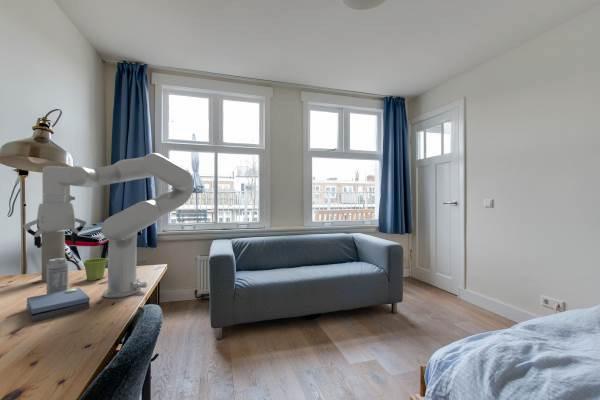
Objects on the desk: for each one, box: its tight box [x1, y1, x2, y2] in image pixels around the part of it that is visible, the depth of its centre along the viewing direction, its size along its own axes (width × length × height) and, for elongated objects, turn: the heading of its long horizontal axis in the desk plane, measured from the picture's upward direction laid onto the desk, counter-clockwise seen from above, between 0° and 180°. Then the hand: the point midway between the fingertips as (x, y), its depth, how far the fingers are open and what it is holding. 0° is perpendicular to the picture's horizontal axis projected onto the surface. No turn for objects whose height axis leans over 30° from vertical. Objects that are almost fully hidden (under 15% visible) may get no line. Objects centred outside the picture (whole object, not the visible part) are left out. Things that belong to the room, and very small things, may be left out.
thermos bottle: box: [41, 230, 66, 282], centre depth 123 cm, size 8×8×28 cm
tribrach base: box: [26, 301, 90, 323], centre depth 90 cm, size 14×14×2 cm
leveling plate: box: [26, 288, 91, 314], centre depth 90 cm, size 14×14×2 cm
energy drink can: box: [46, 257, 69, 294], centre depth 99 cm, size 6×6×15 cm
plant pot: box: [82, 257, 108, 281], centre depth 124 cm, size 9×9×9 cm
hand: (56, 245), depth 98 cm, fingers open, 9 cm apart
